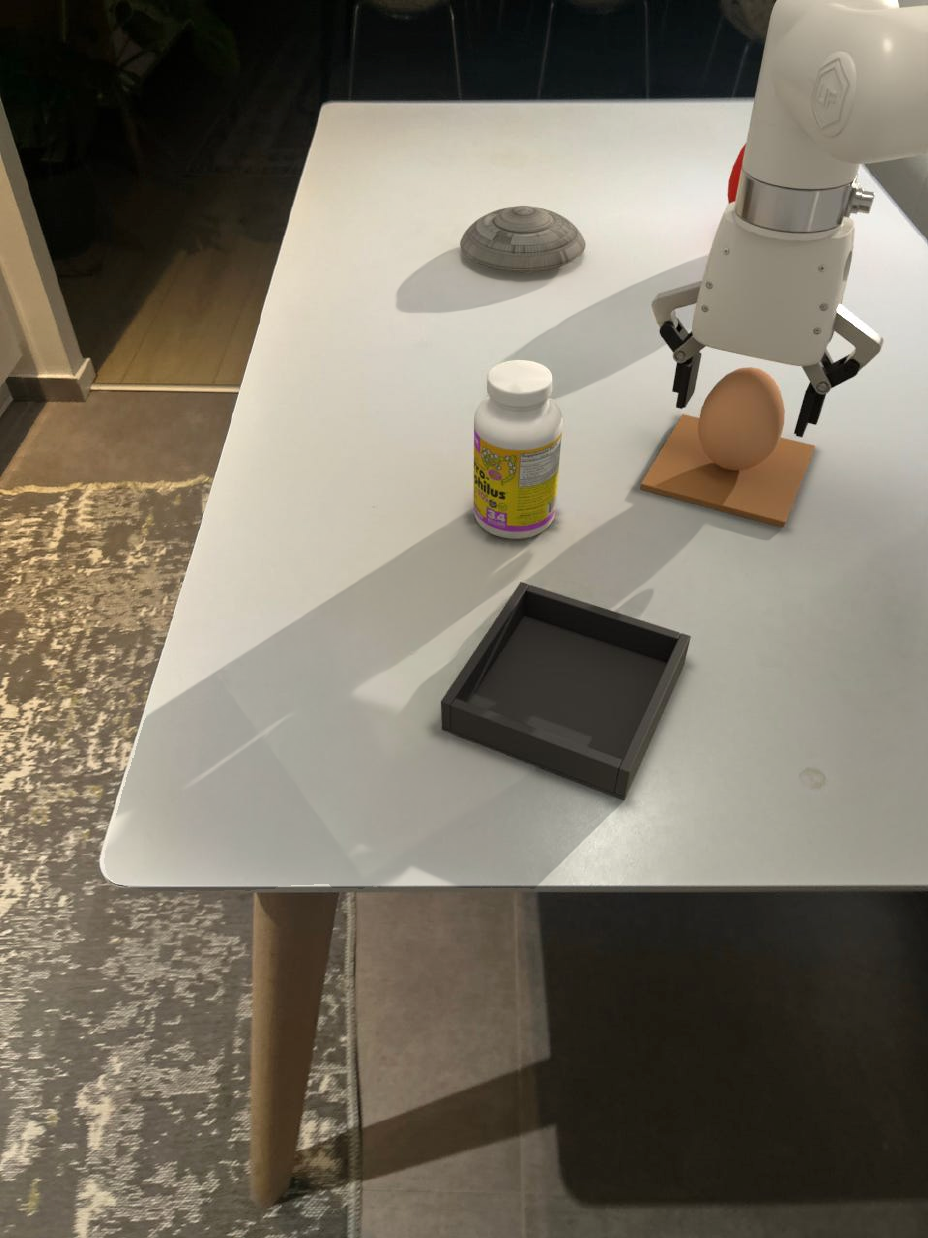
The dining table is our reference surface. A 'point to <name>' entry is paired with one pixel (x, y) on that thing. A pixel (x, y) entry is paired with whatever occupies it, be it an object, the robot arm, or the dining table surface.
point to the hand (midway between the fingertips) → (742, 414)
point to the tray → (567, 688)
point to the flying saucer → (522, 240)
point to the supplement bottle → (517, 451)
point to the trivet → (728, 477)
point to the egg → (742, 419)
